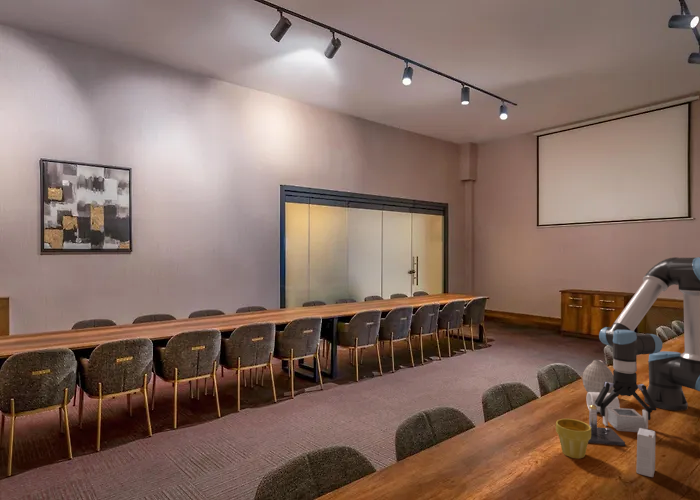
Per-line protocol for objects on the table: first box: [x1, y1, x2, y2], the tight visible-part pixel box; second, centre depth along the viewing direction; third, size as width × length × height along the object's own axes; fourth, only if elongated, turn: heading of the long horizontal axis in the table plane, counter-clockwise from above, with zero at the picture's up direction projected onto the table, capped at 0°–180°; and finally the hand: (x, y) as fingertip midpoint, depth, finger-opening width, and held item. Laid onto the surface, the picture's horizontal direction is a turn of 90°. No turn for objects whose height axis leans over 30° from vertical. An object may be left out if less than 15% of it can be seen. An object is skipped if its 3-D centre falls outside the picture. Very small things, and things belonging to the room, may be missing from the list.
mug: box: [585, 392, 621, 413], centre depth 178 cm, size 12×10×8 cm
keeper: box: [588, 405, 626, 447], centre depth 152 cm, size 16×12×11 cm
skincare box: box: [635, 428, 656, 478], centre depth 127 cm, size 6×4×12 cm
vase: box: [582, 359, 614, 393], centre depth 194 cm, size 13×13×17 cm
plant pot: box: [555, 418, 591, 459], centre depth 139 cm, size 10×10×10 cm
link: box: [608, 407, 645, 433], centre depth 160 cm, size 9×9×6 cm
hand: (625, 426), depth 160 cm, fingers open, 13 cm apart
